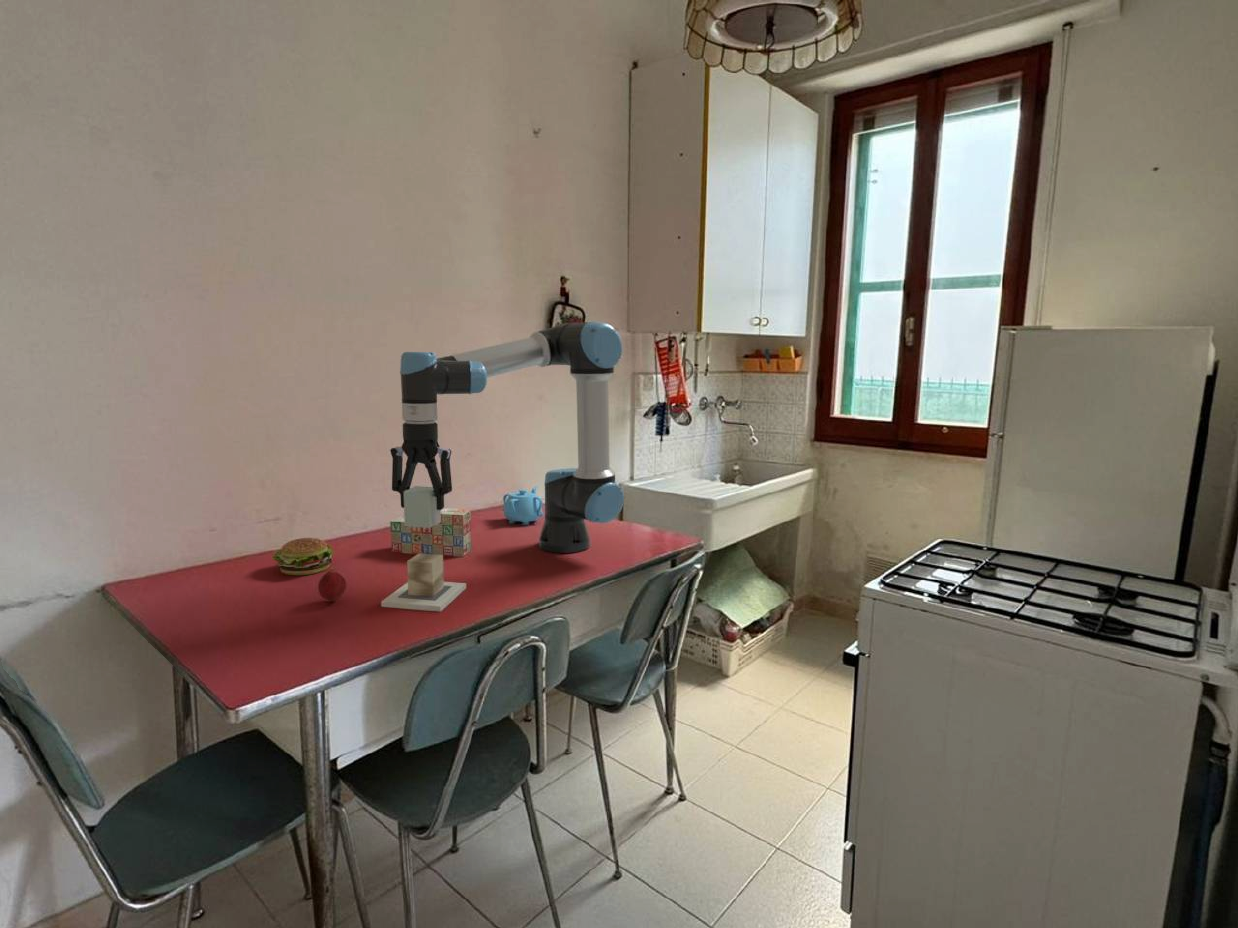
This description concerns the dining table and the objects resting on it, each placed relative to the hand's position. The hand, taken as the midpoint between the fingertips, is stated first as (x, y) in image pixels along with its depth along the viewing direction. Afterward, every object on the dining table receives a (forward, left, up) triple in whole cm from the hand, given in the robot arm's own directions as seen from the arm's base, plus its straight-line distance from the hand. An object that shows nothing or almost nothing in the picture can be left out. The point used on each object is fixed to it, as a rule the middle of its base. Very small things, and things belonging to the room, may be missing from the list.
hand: (422, 522), depth 153 cm
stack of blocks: (+14, -34, -18) cm, 40 cm away
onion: (+19, +7, -18) cm, 27 cm away
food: (+39, -12, -18) cm, 45 cm away
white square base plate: (0, 0, -18) cm, 18 cm away
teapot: (-2, -72, -18) cm, 74 cm away
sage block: (0, 0, 0) cm, 0 cm away
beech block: (0, 0, -17) cm, 17 cm away
